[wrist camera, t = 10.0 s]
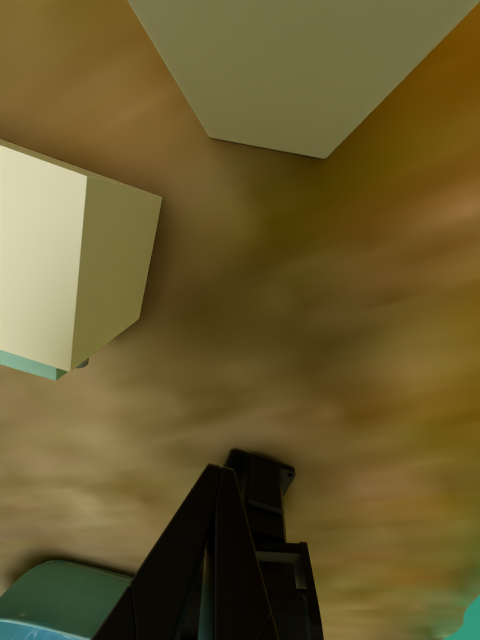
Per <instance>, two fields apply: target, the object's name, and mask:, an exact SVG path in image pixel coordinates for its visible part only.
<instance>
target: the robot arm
mask: <svg viewBox="0 0 480 640" xmlns="http://www.w3.org/2000/svg"><path fill="white" fill-rule="evenodd" d="M234 455H235V456H234ZM294 477H295V470H294V469H293V468H291V467H288V466H285V465H282V464H279V463H275V462H272V461H269V460H266V459H263V458H260V457H257V456H253V455H250V454H247V453H244V452H241V451H238V450H232V451H230V453H229V455H228V457H227V460H226V462H225V464H224V466H223V467H221V468H220V466H218V465H213V464H208V465H207V466H206V468H205V469H204V471H203V472H202V474H201V475H200V477H199V478H198V480H197V482H196V483H195V485H194V486H193V488H192V489H191V491H190V492H189V494H188V495H187V497H186V498H185V500H184V501H183V503H182V504H181V506H180V507H179V509H178V510H177V512H176V513H175V515H174V516H173V518H172V519H171V521H170V522H169V524H168V525H167V527H166V528H165V530H164V531H163V533H162V535H161V536H160V538H159V539H158V541H157V542H156V544H155V545H154V547H153V548H152V550H151V551H150V553H149V554H148V556H147V557H146V559H145V560H144V562H143V563H142V565H141V566H140V568H139V569H138V571H137V572H136V574H135V575H134V577H133V578H132V580H131V581H130V586H127V587H126V589H125V590H124V592H123V593H122V595H121V596H120V598H119V599H118V601H117V602H116V604H115V605H114V607H113V608H112V610H111V611H110V613H109V614H108V615H107V617H106V618H105V620H104V621H103V623H102V624H101V626H100V627H99V628H98V630H97V631H96V633H95V634H94V636H93V637H92V638H91V640H324V638H323V630H322V623H321V616H320V610H319V605H318V599H317V594H316V589H315V584H314V578H313V573H312V568H311V563H310V557H309V552H308V547H307V542H299V543H287V541H286V529H285V516H284V504H283V496H284V494H285V492H286V491H287V489H288V487H289V486H290V484H291V482H292V481H293V479H294ZM298 588H299V589H298Z"/></svg>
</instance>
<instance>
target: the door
mask: <svg viewBox="0 0 480 640" xmlns="http://www.w3.org/2000/svg"><path fill="white" fill-rule="evenodd" d="M88 360H89V358H88V359H86V360H85V361H84V362H82V363H81V364H80V365H79V366H77V367H76V368H82V367H85V366H86V365H87V364H88ZM0 364H1V365H5V366H8V367H11V368H15V369H18V370H22V371H25V372H28V373H32V374H35V375H38V376H42V377H45V378H49V379H52V380H55V381H56V380H58V379H59V378H60V377H62V376H63V375H64V374H66V373H67V372H68V371H65V370H62V369H59V368H56V367H52V366H49V365H46V364H43V363H40V362H37V361H34V360H31V359H28V358H24V357H21V356H18V355H15V354H12V353H9V352H6V351H3V350H0Z"/></svg>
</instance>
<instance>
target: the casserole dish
mask: <svg viewBox="0 0 480 640" xmlns="http://www.w3.org/2000/svg"><path fill="white" fill-rule="evenodd" d="M132 578H133V577H130V576H126V575H122V574H119V573H115V572H112V571H108V570H104V569H100V568H96V567H92V566H88V565H84V564H80V563H75V562H70V561H65V560H50V561H47V562H45V563H42V564H40V565H37V566H35V567H34V568H32V569H30V570H29V571H27V572H26V573H25V574H24V575H22V576H21V577H20V578H19V579H18V580H17V581H16V582H15V583H14V584H13V585H12V586H11V587H10V588H9V589H8V590H7V591H6V592H5V593H4V594H3V595H2V596H1V597H0V640H91V638H92V637H93V636H94V634H95V633H96V631H97V630H98V628H99V627H100V626H101V624H102V623H103V621H104V620H105V618H106V617H107V615H108V614H109V613H110V611H111V610H112V608H113V607H114V605H115V604H116V602H117V601H118V599H119V598H120V596H121V595H122V593H123V592H124V590H125V589H126V587H127V586H130V581H131V580H132Z"/></svg>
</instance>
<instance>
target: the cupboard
mask: <svg viewBox="0 0 480 640" xmlns="http://www.w3.org/2000/svg"><path fill="white" fill-rule="evenodd" d="M162 198H163V197H161V196H158V195H155V194H152V193H149V192H147V191H144V190H141V189H138V188H135V187H133V186H130V185H127V184H124V183H121V182H119V181H116V180H113V179H110V178H107V177H105V176H102V175H99V174H96V173H94V172H91V171H88V170H85V169H82V168H80V167H77V166H74V165H71V164H68V163H66V162H63V161H60V160H57V159H54V158H52V157H49V156H46V155H43V154H40V153H38V152H35V151H32V150H29V149H27V148H24V147H21V146H18V145H15V144H13V143H10V142H7V141H4V140H1V139H0V350H3V351H6V352H9V353H12V354H15V355H18V356H21V357H24V358H28V359H31V360H34V361H37V362H40V363H43V364H46V365H49V366H52V367H56V368H59V369H62V370H65V371H68V372H71V371H72V370H73V369H75V368H76V367H77V366H79V365H80V364H81V363H82V362H84V361H85V360H86V359H88V358H89V357H90V356H92V355H93V354H94V353H95V352H97V351H98V350H99V349H101V348H102V347H103V346H104V345H106V344H107V343H108V342H110V341H111V340H112V339H114V338H115V337H116V336H117V335H119V334H120V333H121V332H123V331H124V330H125V329H126V328H128V327H129V326H130V325H132V324H133V323H134V322H136V321H137V320H138V319H139V317H140V312H141V307H142V301H143V296H144V291H145V286H146V281H147V276H148V270H149V265H150V260H151V255H152V250H153V245H154V239H155V234H156V229H157V224H158V219H159V214H160V208H161V203H162Z"/></svg>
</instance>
